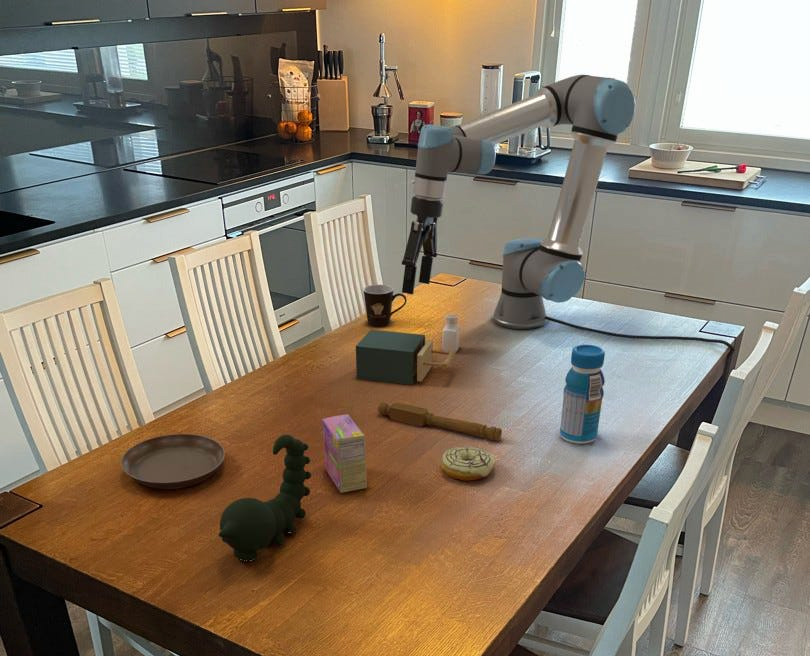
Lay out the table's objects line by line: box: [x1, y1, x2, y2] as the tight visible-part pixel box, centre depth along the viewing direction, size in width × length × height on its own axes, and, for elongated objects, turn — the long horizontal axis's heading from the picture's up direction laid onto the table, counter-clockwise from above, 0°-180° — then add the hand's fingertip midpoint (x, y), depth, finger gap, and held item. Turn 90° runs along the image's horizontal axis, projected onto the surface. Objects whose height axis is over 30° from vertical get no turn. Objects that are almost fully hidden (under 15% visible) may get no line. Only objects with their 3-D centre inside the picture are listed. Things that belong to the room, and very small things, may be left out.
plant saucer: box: [120, 433, 226, 490], centre depth 175 cm, size 21×21×3 cm
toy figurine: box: [218, 434, 312, 563], centre depth 149 cm, size 9×19×25 cm
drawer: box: [413, 339, 457, 382], centre depth 214 cm, size 20×11×7 cm, turn 74°
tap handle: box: [377, 402, 503, 442], centre depth 191 cm, size 3×3×30 cm
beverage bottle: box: [559, 344, 606, 445], centre depth 183 cm, size 8×8×20 cm
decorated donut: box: [441, 446, 496, 482], centre depth 174 cm, size 10×11×4 cm
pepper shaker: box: [441, 313, 461, 353], centre depth 228 cm, size 4×4×10 cm
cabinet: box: [355, 329, 426, 386], centre depth 216 cm, size 15×12×9 cm
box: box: [321, 413, 368, 494], centre depth 169 cm, size 10×6×12 cm, turn 21°
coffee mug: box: [362, 284, 407, 328], centre depth 245 cm, size 12×9×10 cm
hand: (416, 288), depth 212 cm, fingers open, 13 cm apart
